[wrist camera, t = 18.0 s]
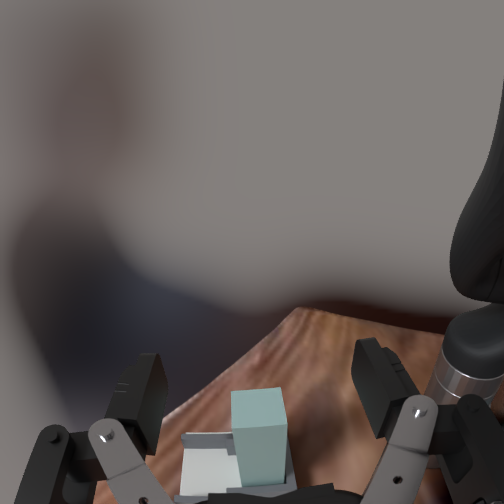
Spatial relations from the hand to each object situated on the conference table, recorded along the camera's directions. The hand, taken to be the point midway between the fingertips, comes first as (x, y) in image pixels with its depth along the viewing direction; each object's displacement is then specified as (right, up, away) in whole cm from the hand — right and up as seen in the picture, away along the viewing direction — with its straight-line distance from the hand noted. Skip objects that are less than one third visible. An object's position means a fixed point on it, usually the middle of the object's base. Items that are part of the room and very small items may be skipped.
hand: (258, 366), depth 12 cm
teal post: (+1, -23, +20) cm, 31 cm away
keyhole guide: (-2, -24, +20) cm, 32 cm away
